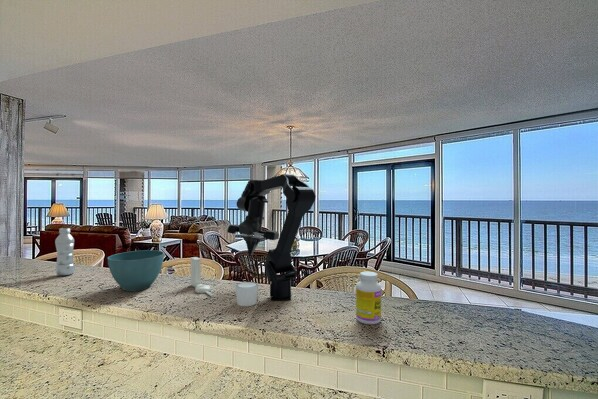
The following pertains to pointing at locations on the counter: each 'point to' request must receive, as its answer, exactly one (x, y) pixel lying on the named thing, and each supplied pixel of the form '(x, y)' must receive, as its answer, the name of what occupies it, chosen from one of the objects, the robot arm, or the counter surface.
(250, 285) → the white cup
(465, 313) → the counter surface
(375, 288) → the supplement bottle
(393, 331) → the counter surface
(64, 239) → the plastic bottle
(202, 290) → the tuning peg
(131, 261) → the teal bowl
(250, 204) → the robot arm
